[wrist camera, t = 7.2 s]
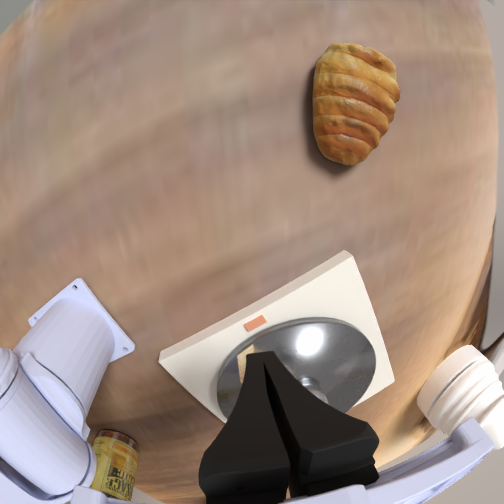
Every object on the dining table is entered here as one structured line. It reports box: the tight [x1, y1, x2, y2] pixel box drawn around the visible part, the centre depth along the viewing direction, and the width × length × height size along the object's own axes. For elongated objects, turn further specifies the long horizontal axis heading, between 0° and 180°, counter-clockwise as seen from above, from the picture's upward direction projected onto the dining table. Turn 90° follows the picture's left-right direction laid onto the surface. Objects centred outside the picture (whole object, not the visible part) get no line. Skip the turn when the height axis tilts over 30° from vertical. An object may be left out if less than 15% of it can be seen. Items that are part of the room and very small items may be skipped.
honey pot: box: [417, 345, 504, 451], centre depth 23 cm, size 13×13×18 cm
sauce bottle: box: [89, 430, 139, 502], centre depth 17 cm, size 6×6×20 cm
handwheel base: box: [158, 250, 395, 424], centre depth 24 cm, size 18×18×2 cm
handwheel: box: [217, 317, 376, 420], centre depth 21 cm, size 15×15×4 cm
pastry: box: [312, 43, 400, 166], centre depth 16 cm, size 9×7×4 cm
